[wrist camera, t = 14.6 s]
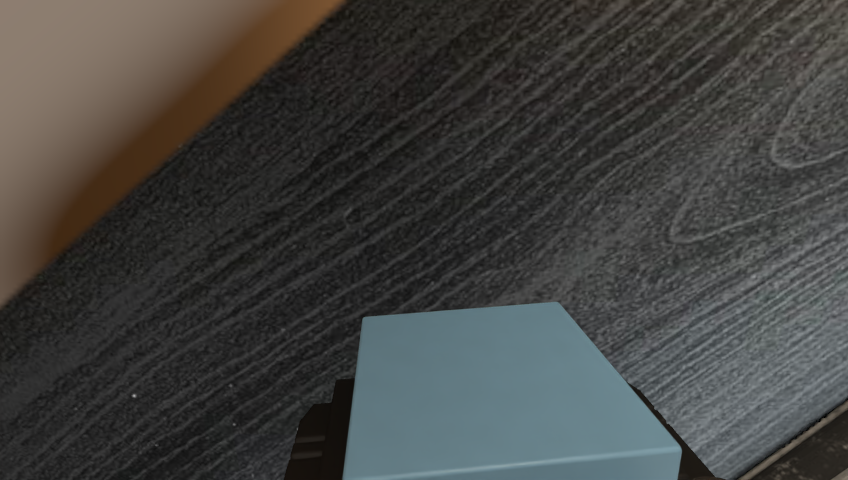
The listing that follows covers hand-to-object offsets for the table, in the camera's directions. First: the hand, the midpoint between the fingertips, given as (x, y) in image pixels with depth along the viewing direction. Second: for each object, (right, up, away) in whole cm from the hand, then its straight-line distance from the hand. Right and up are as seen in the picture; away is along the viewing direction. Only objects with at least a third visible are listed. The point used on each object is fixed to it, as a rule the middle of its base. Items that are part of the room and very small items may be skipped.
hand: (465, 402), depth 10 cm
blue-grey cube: (0, 0, 0) cm, 0 cm away
